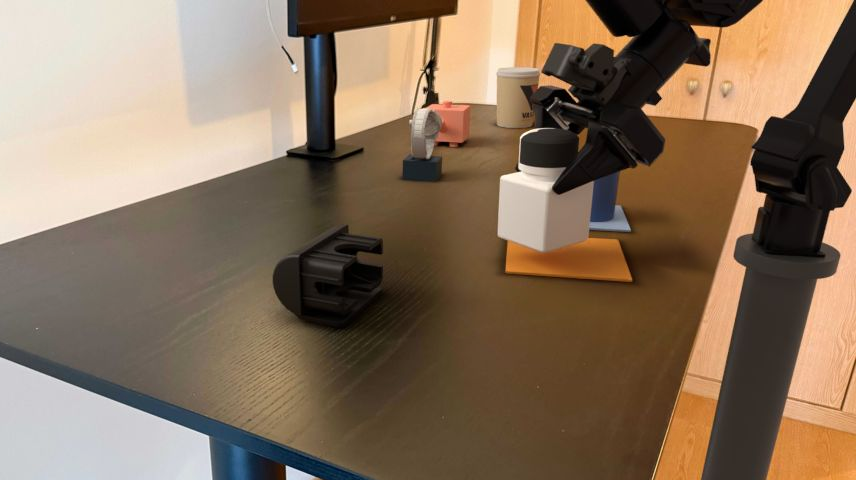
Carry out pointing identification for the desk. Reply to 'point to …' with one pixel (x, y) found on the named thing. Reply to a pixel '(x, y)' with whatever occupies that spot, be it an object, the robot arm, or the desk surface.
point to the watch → (423, 147)
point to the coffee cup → (516, 96)
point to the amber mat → (571, 261)
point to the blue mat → (613, 223)
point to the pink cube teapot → (452, 122)
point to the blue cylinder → (604, 198)
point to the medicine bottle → (544, 195)
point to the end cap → (329, 278)
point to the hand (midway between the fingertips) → (535, 181)
